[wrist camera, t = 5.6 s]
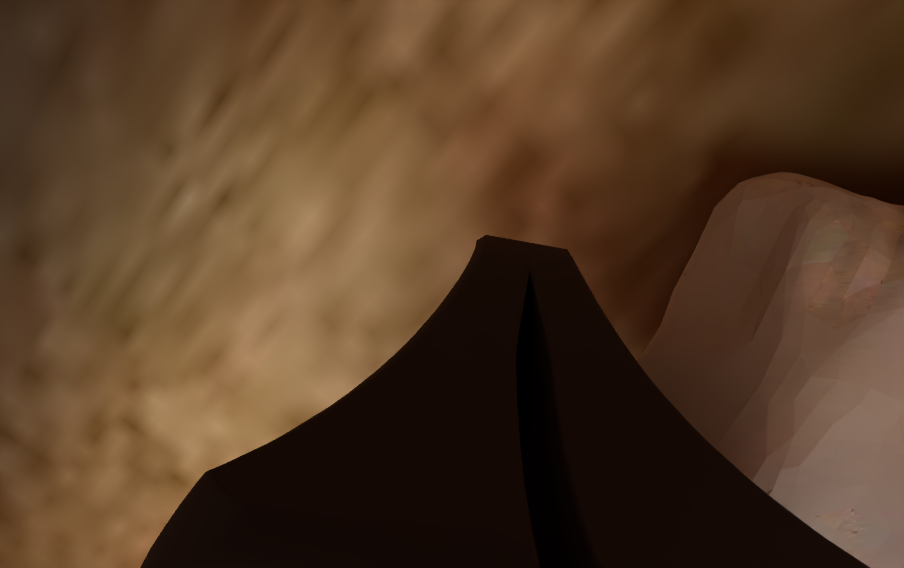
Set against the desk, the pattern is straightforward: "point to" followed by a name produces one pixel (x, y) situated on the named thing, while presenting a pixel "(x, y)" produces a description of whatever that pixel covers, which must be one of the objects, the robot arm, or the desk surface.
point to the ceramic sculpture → (798, 354)
